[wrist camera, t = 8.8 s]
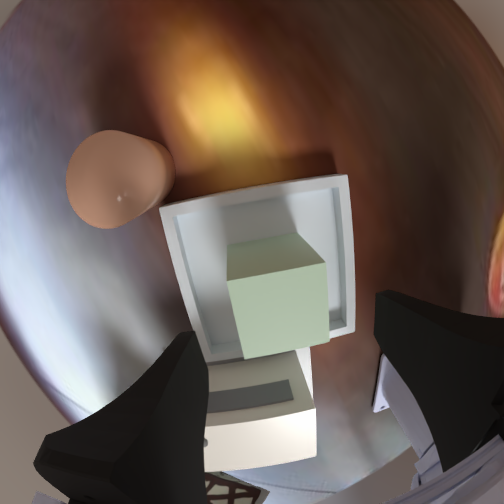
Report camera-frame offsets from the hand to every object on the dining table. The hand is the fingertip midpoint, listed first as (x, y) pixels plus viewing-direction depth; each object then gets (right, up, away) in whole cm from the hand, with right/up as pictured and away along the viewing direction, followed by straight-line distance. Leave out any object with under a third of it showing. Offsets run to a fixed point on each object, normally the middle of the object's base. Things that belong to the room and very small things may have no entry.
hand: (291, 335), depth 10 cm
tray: (-1, +2, +6) cm, 7 cm away
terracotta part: (-8, +8, +4) cm, 12 cm away
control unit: (-2, -7, +9) cm, 12 cm away
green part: (-1, +2, +6) cm, 6 cm away
